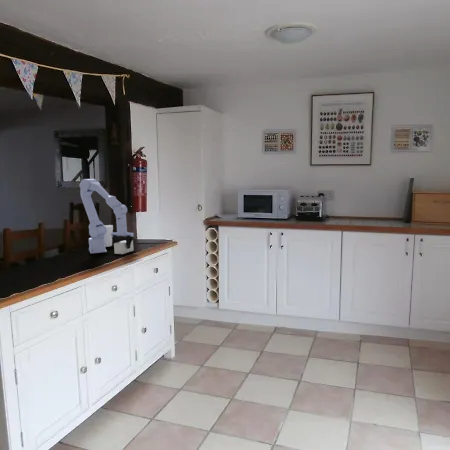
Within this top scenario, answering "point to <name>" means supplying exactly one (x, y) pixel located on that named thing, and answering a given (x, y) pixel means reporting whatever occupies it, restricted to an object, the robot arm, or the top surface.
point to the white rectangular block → (122, 247)
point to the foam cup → (108, 235)
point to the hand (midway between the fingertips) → (123, 248)
